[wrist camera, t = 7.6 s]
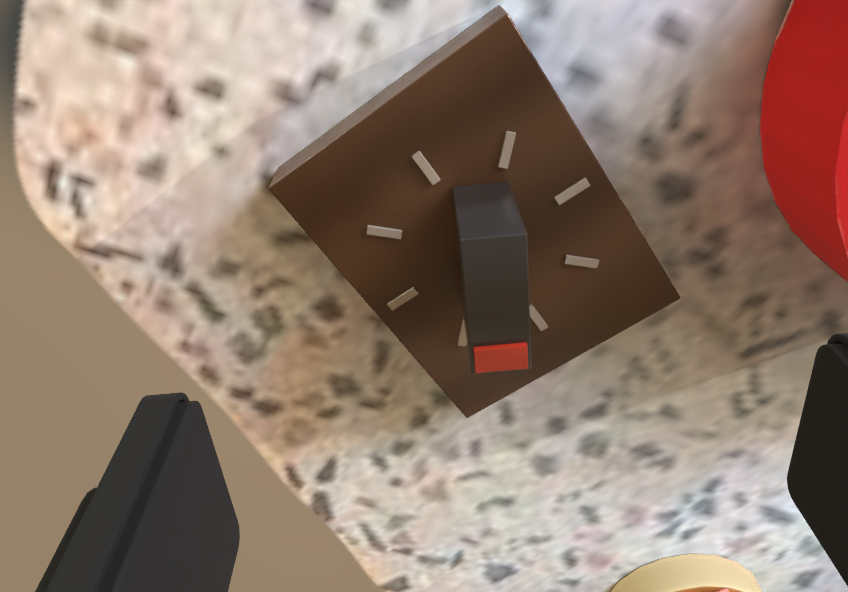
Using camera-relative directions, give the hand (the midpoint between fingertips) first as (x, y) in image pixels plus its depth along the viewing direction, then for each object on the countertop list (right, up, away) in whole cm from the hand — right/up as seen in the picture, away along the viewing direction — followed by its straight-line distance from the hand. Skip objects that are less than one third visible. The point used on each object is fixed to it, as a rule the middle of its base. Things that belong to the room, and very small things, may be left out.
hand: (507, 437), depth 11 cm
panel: (+1, +5, +20) cm, 21 cm away
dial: (+1, +4, +18) cm, 18 cm away
